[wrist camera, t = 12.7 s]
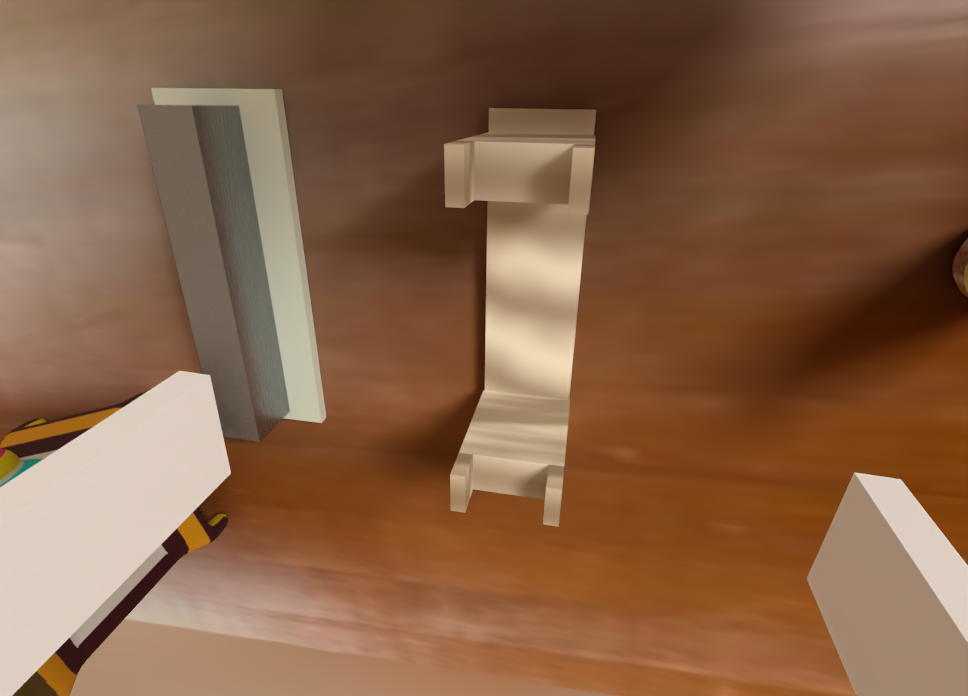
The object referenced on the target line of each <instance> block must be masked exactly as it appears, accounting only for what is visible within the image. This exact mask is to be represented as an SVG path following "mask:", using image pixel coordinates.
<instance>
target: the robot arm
mask: <svg viewBox="0 0 968 696" xmlns="http://www.w3.org/2000/svg"><path fill="white" fill-rule="evenodd" d="M230 474H231V471H230V466H229V461H228V457H227V452H226V447H225V443H224V438H223V433H222V429H221V424H220V419H219V415H218V410H217V405H216V401H215V396H214V391H213V387H212V382H211V377H210V375H205V374H198V373H192V372H185V371H178V372H177V373H175V374H174V375H172V376H171V377H169V378H168V379H166V380H164V381H163V382H161V383H160V384H158V385H157V386H155V387H154V388H152V389H151V390H149V391H148V392H146V393H144V394H143V395H141V396H140V397H138V398H137V399H135V400H134V401H132V402H131V403H129V404H128V405H126V406H125V407H123V408H121V409H120V410H118V411H117V412H115V413H114V414H112V415H111V416H109V417H108V418H106V419H105V420H103V421H101V422H100V423H98V424H97V425H95V426H94V427H92V428H91V429H89V430H88V431H86V432H85V433H83V434H81V435H80V436H78V437H77V438H75V439H74V440H72V441H71V442H69V443H68V444H66V445H65V446H63V447H61V448H60V449H58V450H57V451H55V452H54V453H52V454H51V455H49V456H48V457H46V458H45V459H43V460H41V461H40V462H38V463H37V464H35V465H34V466H32V467H31V468H29V469H28V470H26V471H25V472H23V473H21V474H20V475H18V476H17V477H15V478H14V479H12V480H11V481H9V482H8V483H6V484H5V485H3V486H1V487H0V696H12V695H13V694H14V693H15V692H16V691H17V690H18V689H19V688H20V687H21V686H22V685H23V684H24V683H25V682H26V681H27V680H28V679H29V678H30V677H31V676H32V675H33V674H34V673H35V672H36V671H37V670H38V669H39V668H40V667H41V666H42V665H43V664H44V663H45V662H46V661H47V660H48V659H49V658H50V657H51V656H52V655H53V654H54V653H55V652H56V651H57V650H58V649H59V648H60V647H61V646H62V645H63V644H64V643H65V641H66V640H67V639H68V638H69V637H70V636H71V635H72V634H73V633H74V632H75V631H76V630H77V629H78V628H79V627H80V626H81V625H82V624H83V623H84V622H85V621H86V620H87V619H88V618H89V617H90V616H91V615H92V614H93V613H94V612H95V611H96V610H97V609H98V608H99V607H100V606H101V605H102V604H103V603H104V602H105V601H106V600H107V599H108V598H109V597H110V596H111V595H112V594H113V593H114V592H115V591H116V590H117V589H118V588H119V587H120V586H121V585H122V584H123V583H124V582H125V581H126V580H127V578H128V577H129V576H130V575H131V574H132V573H133V572H134V571H135V570H136V569H137V568H138V567H139V566H140V565H141V564H142V563H143V562H144V561H145V560H146V559H147V558H148V557H149V556H150V555H151V554H152V553H153V552H154V551H155V550H156V549H157V548H158V547H159V546H160V545H161V544H162V543H163V542H164V541H165V540H166V539H167V538H168V537H169V536H170V535H171V534H172V533H173V532H174V531H175V530H176V529H177V528H178V527H179V526H180V525H181V524H182V523H183V522H184V521H185V520H186V519H187V518H188V517H189V515H190V514H191V513H192V512H193V511H194V510H195V509H196V508H197V507H198V506H199V505H200V504H201V503H202V502H203V501H204V500H205V499H206V498H207V497H208V496H209V495H210V494H211V493H212V492H213V491H214V490H215V489H216V488H217V487H218V486H219V485H220V484H221V483H222V482H223V481H224V480H225V479H226V478H227V477H228V476H229V475H230ZM807 580H808V583H809V585H810V588H811V590H812V592H813V595H814V597H815V599H816V602H817V604H818V607H819V609H820V611H821V614H822V616H823V618H824V621H825V623H826V626H827V628H828V630H829V633H830V635H831V637H832V640H833V642H834V645H835V647H836V649H837V652H838V654H839V656H840V659H841V661H842V663H843V666H844V668H845V671H846V673H847V675H848V678H849V680H850V682H851V685H852V687H853V690H854V692H855V694H856V696H968V565H967V564H966V563H965V562H964V560H963V559H962V558H961V556H960V555H959V554H958V553H957V551H956V550H955V549H954V547H953V546H952V545H951V544H950V542H949V541H948V540H947V538H946V537H945V536H944V535H943V533H942V532H941V531H940V529H939V528H938V527H937V525H936V524H935V523H934V522H933V520H932V519H931V518H930V516H929V515H928V514H927V513H926V511H925V510H924V509H923V507H922V506H921V505H920V504H919V502H918V501H917V500H916V498H915V497H914V496H913V495H912V493H911V492H910V491H909V489H908V488H907V487H906V486H905V484H904V483H903V482H902V480H901V479H895V478H888V477H881V476H875V475H868V474H861V473H855V472H854V474H853V476H852V479H851V481H850V483H849V485H848V488H847V490H846V492H845V494H844V497H843V499H842V501H841V503H840V506H839V508H838V510H837V512H836V514H835V517H834V519H833V521H832V523H831V526H830V528H829V530H828V532H827V535H826V537H825V539H824V541H823V543H822V546H821V548H820V550H819V552H818V555H817V557H816V559H815V561H814V564H813V566H812V568H811V570H810V572H809V575H808V577H807Z"/></svg>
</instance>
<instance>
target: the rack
mask: <svg viewBox="0 0 968 696" xmlns="http://www.w3.org/2000/svg"><path fill="white" fill-rule="evenodd" d="M595 119H596V110H585V109H524V108H489V133H484V134H480V135H476V136H472V137H469V138H465V139H461V140H457V141H454V142H450V143H446V144H444V167H445V207H454V208H465V207H466V206H468V205H469V204H470V203H471V202H473V201H474V200H480V201H488V202H487V267H486V333H485V391H484V390H483V393H482V395H481V398H480V400H479V403H478V405H477V408H476V411H475V413H474V416H473V418H472V421H471V423H470V426H469V428H468V431H467V433H466V436H465V438H464V441H463V443H462V446H461V448H460V451H459V453H458V456H457V459H456V461H455V464H454V466H453V469H452V471H451V474H450V495H451V511H458V512H464V513H465V512H466V509H467V506H468V503H469V500H470V497H471V493H472V490H473V489H475V490H482V491H489V492H496V493H503V494H511V495H518V496H525V497H532V498H539V499H545V507H544V519H543V524H545V525H551V526H558V527H559V516H560V506H561V496H562V485H563V474H564V463H565V452H566V441H567V430H568V419H569V408H570V400H569V394H570V384H571V373H572V363H573V352H574V341H575V331H576V320H577V310H578V299H579V289H580V278H581V267H582V257H583V246H584V236H585V225H586V214H589V204H590V194H591V184H592V173H593V163H594V152H595V136H596V135H594V130H595Z"/></svg>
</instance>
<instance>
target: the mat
mask: <svg viewBox="0 0 968 696" xmlns="http://www.w3.org/2000/svg"><path fill="white" fill-rule="evenodd" d="M151 91H152V95H153V99H154V104H155V105H236V106H239V110H240V116H241V121H242V127H243V133H244V139H245V145H246V151H247V157H248V163H249V169H250V175H251V181H252V187H253V193H254V199H255V205H256V211H257V217H258V223H259V229H260V235H261V241H262V247H263V253H264V259H265V265H266V271H267V276H268V282H269V288H270V294H271V300H272V306H273V312H274V318H275V324H276V330H277V336H278V342H279V348H280V354H281V360H282V366H283V372H284V378H285V384H286V390H287V396H288V402H289V408H290V412H289V413H288V414H287V415H286V416H285V417H284V418H285V419H293V420H301V421H309V422H317V423H322V422H323V421H324V420H325V418H326V411H325V404H324V396H323V389H322V382H321V374H320V367H319V359H318V352H317V345H316V337H315V330H314V323H313V315H312V308H311V300H310V293H309V286H308V278H307V271H306V263H305V256H304V249H303V241H302V234H301V226H300V219H299V212H298V204H297V197H296V190H295V182H294V175H293V167H292V160H291V153H290V145H289V138H288V130H287V123H286V116H285V108H284V101H283V94H282V89H221V88H151Z"/></svg>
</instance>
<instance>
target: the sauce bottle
mask: <svg viewBox="0 0 968 696" xmlns="http://www.w3.org/2000/svg"><path fill="white" fill-rule="evenodd" d="M952 271H953V277H954V278H955V282H956V285H957V286H958V288H959V290H960V291H961V292H962V293H963V294H964V295H965V296H967V297H968V238H967V239H966V240H965V242H964V243H963V244H962V245H961V247H960V249H959V251H958V252H957V253H956V255H955V257H954V259H953V264H952Z"/></svg>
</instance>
